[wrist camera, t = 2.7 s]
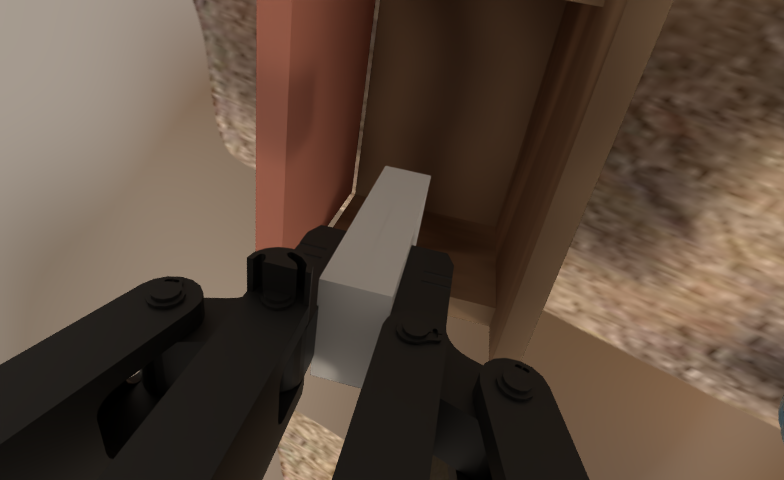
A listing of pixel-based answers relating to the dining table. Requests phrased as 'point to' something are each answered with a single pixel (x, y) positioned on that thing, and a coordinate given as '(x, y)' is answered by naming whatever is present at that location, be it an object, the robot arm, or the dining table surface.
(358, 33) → the panel
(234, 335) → the robot arm
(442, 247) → the wooden box
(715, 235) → the dining table surface
